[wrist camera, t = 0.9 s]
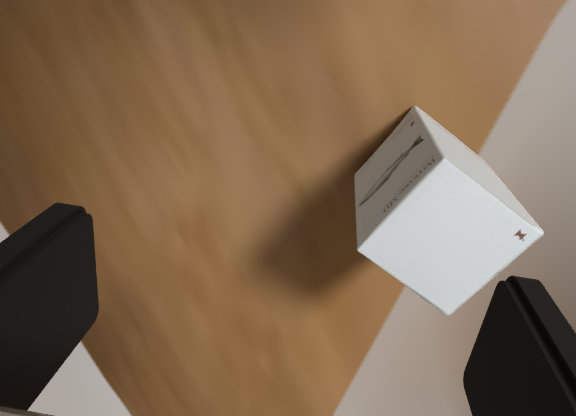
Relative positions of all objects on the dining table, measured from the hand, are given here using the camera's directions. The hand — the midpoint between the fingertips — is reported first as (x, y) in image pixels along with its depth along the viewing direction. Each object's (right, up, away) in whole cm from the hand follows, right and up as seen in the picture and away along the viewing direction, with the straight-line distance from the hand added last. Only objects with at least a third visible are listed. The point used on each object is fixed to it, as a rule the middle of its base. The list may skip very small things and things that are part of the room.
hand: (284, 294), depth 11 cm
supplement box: (+10, +5, +26) cm, 29 cm away
